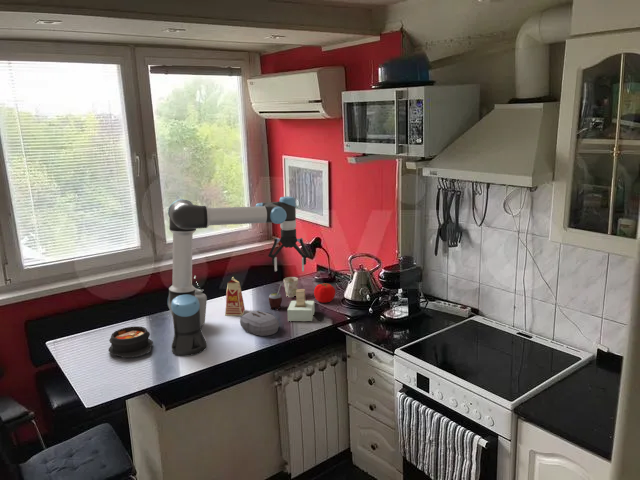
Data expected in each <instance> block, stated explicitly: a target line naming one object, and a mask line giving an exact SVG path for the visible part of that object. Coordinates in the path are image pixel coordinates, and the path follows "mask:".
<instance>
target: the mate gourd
mask: <svg viewBox="0 0 640 480" xmlns="http://www.w3.org/2000/svg"><path fill="white" fill-rule="evenodd" d="M282 285H284V281H283V282H282V283H280V285H279V287H278V291H277V292H272V293H269V295H268V303H269V306H270V307H269V309H270V310H271V309H272V310H277V309H279V310H280V308H282V302H283V297H282V294H281V293H280V290H281V287H282ZM279 307H280V308H279ZM274 308H276V309H274Z"/></svg>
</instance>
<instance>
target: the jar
mask: <svg viewBox="0 0 640 480" xmlns="http://www.w3.org/2000/svg"><path fill="white" fill-rule="evenodd" d="M193 279H196V276H194V277H193ZM195 283H197V281H196V282H195ZM198 284H199V283H197V284H196V285H198ZM195 296H196V297H197V298H198V300H199V304H200V308H199V309H200V320H201V326H203V325H204V324H205V322H206V314H207V302H208V299H207V298H208V297H207V295H206V294H205V293H203V289H201V288H200V289H199V288H195ZM169 319H170V317H169Z"/></svg>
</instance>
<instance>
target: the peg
mask: <svg viewBox="0 0 640 480" xmlns="http://www.w3.org/2000/svg"><path fill="white" fill-rule="evenodd" d="M295 299H296V300H295V301H296V303H297V307H306V305H305V301H306V289H305V288H297V291H296V297H295Z"/></svg>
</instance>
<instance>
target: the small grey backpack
mask: <svg viewBox="0 0 640 480" xmlns="http://www.w3.org/2000/svg"><path fill="white" fill-rule="evenodd" d="M239 323H240V324H239V325H240V326H241V327H242V328H243V330H245V331H247V332H248V333H249V334H253V335H256V336H259V337H260V336H261V337H263V336H264V337H265V336H271V335H274V334H276V333H277V332H278V330H279V327H280V322H279V319H278V318H277V317H275V316H274V315H273V314H271V313H270V312H265V311H264V312H263V311H259V310H255V311H254V310H253V311H249V312H247V313H245V314H244V313H243V315H242V316H240V319H239Z"/></svg>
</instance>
